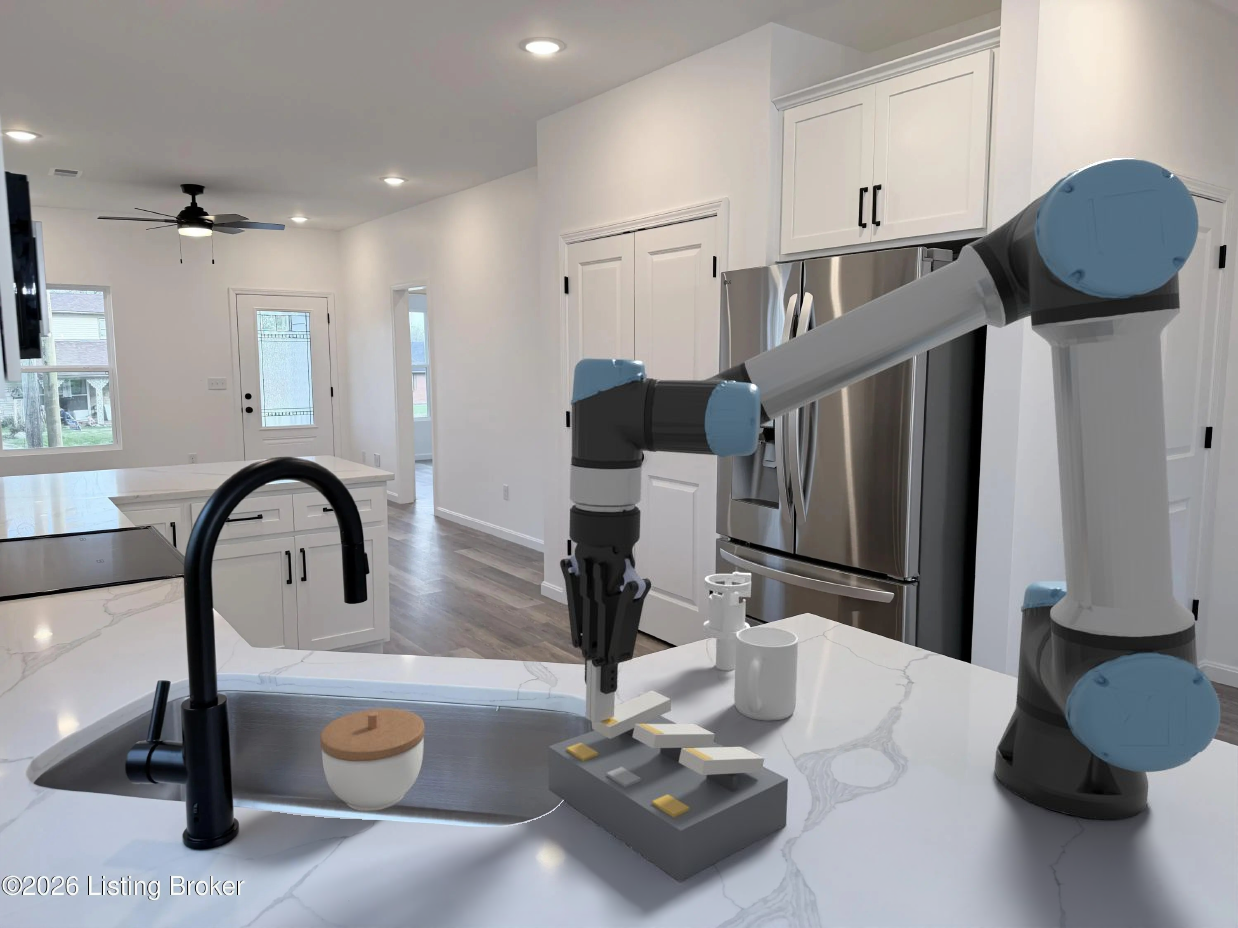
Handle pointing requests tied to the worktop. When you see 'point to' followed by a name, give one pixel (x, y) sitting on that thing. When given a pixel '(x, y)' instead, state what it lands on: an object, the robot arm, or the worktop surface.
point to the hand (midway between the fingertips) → (599, 716)
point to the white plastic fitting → (726, 614)
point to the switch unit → (665, 799)
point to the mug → (765, 673)
